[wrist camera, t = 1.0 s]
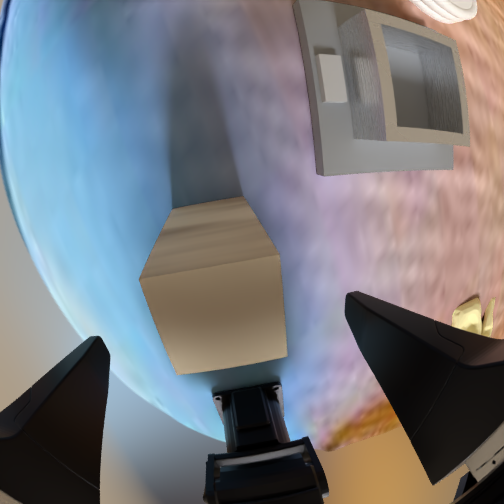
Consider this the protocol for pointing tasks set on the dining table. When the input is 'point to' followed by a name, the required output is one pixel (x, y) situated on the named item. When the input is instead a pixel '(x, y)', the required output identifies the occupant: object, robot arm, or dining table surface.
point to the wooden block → (216, 288)
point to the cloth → (474, 317)
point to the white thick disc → (448, 9)
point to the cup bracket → (381, 88)
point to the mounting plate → (338, 103)
